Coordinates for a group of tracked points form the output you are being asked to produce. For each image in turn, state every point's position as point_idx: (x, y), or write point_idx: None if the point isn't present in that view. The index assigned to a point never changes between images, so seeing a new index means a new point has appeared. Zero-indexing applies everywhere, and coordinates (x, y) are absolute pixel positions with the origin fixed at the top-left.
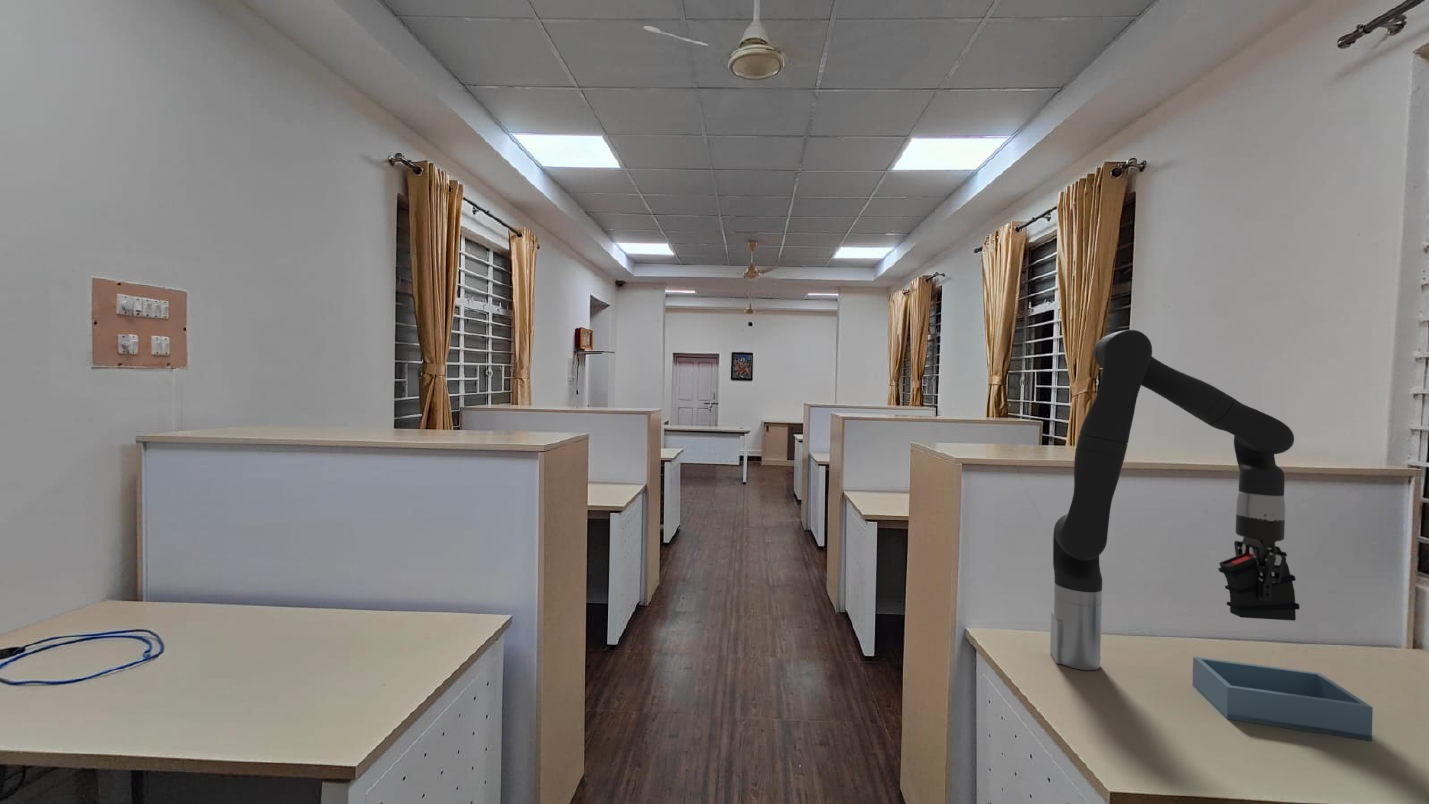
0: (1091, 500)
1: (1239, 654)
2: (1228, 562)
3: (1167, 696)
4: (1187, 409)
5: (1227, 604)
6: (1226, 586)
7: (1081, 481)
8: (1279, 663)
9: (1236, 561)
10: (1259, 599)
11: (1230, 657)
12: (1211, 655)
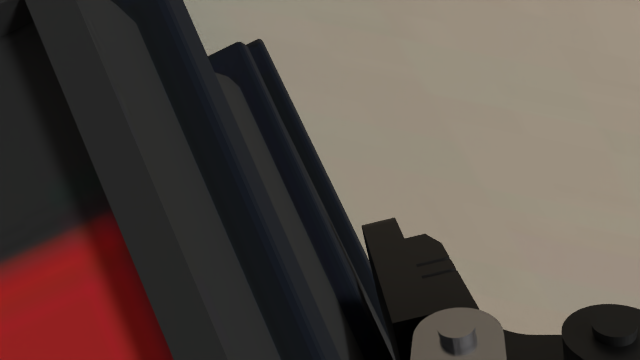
0: None
1: (631, 120)
2: (90, 176)
3: None
4: None
5: (250, 43)
6: (221, 55)
7: None
8: (588, 230)
9: (68, 354)
10: None
11: (578, 79)
12: (569, 9)
